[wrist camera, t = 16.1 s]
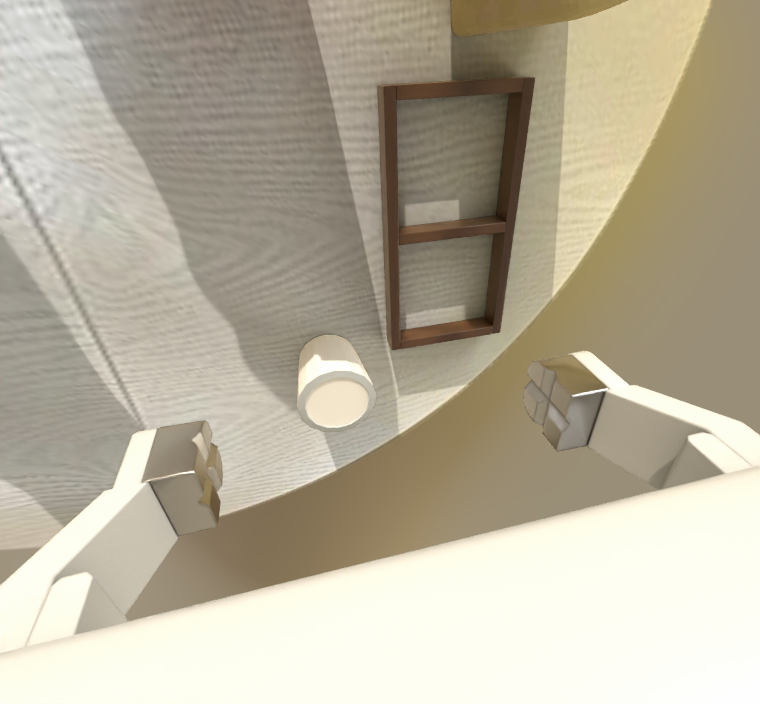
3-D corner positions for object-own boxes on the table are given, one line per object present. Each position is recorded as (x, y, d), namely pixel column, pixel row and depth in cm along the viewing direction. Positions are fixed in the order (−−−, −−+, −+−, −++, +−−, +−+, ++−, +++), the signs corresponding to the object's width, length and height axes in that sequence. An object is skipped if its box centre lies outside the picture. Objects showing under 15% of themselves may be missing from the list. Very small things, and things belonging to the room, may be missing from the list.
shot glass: (375, 352, 43) (392, 395, 37) (330, 396, 45) (340, 443, 39) (324, 315, 39) (334, 357, 34) (277, 365, 41) (280, 412, 36)
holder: (386, 340, 43) (392, 350, 41) (377, 84, 30) (383, 86, 29) (491, 323, 44) (500, 332, 43) (521, 76, 32) (535, 76, 31)
